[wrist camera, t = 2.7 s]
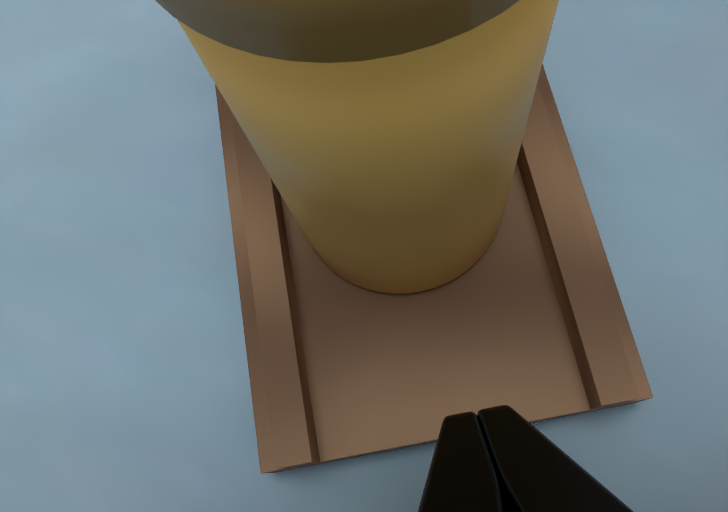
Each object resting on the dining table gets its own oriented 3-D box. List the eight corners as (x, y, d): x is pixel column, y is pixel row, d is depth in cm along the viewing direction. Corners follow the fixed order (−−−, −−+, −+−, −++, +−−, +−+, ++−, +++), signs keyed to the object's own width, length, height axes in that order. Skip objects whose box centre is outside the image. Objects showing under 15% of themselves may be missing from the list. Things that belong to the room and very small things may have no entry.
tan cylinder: (537, 273, 15) (879, -379, 3) (310, 320, 15) (-100, -133, 4) (481, 80, 16) (576, -770, 5) (280, 125, 17) (-56, -588, 5)
